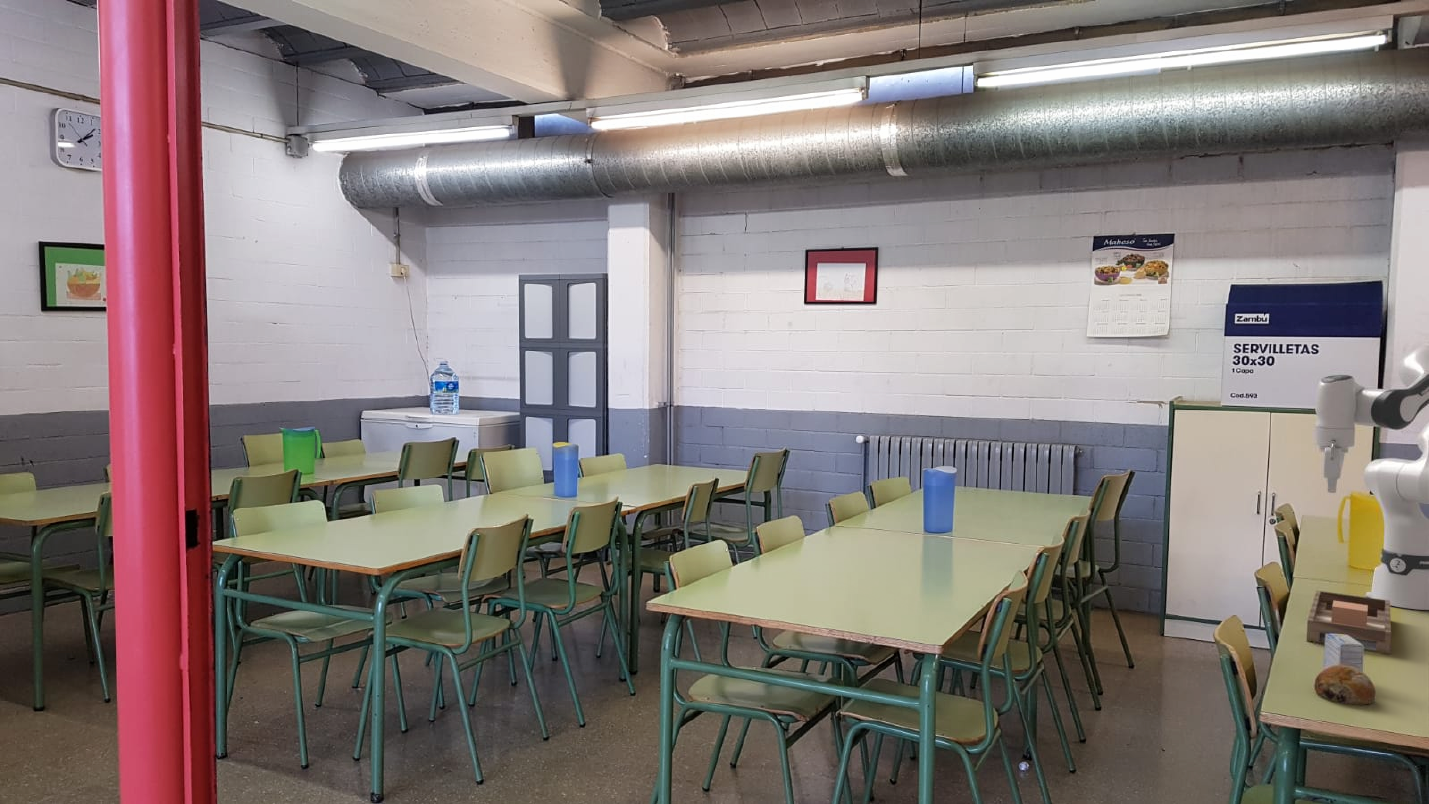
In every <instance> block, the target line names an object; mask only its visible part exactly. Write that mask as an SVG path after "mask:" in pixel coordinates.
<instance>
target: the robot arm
mask: <svg viewBox="0 0 1429 804" xmlns="http://www.w3.org/2000/svg"><path fill="white" fill-rule="evenodd" d="M1397 371H1398V377H1399V380H1400V381H1401V382H1402V384H1403V385H1405V386H1406V388H1401V389H1400V388H1399V389H1398V388H1395V389H1394V388H1393V389H1389V388H1388V389H1386V388H1368V387H1365V386H1363V385H1361V384H1359V383H1357V382H1356V381H1355V379H1354V376H1352V375H1349V374H1337V375H1336V374H1335V375H1329V376H1328V375H1327V376H1325V377H1323V378H1321V379H1320V380H1319V382H1318V386H1317V388H1316V393H1315V394H1316V395H1315V402H1314V403H1315V406H1314V407H1315V408H1314V409H1315V414H1316V420H1315V423H1314V429H1313V432H1314V433H1313V435H1314V436H1313V444H1314V446H1315V445H1316V446H1318V447H1319V452H1322V453H1323V471H1322V473H1323V475H1322V476H1323V478H1324V479H1327V492H1328V493H1329V494H1336V493H1337V483H1338V479H1339V480H1340V478H1341V475H1342V469H1343V465H1344V460H1345V456H1346V455H1345V454H1347V453H1349V448H1351V447H1355V437H1356V434H1355V433H1356V425H1357V426H1367V427H1378V428H1379V427H1380V428H1382V429H1383V428H1384V429H1390V430H1396V431H1399V430H1403V429H1405V428H1407V427H1408V426H1410V424H1412V422H1413V421H1414V420H1415V419H1416V417H1417V415H1418V414H1419V413H1420V412H1422V410H1423V409H1424V408H1426V407H1427V405H1429V342H1427V343H1424V344H1423V345H1420V346H1419V347H1417V348H1416V349H1414V350H1412V351H1410V352H1409V353H1407V354H1406V355H1405V356H1404V357H1403V358H1402V359H1401V360H1400V361H1399V364H1398V370H1397ZM1416 443H1417V447H1418V449H1419V451H1421V453H1422V454H1421V456H1420V457H1419V458H1418V459H1416V460H1412V459H1411V460H1410V459H1404V458H1398V457H1397V458H1395V457H1390V458H1389V457H1388V458H1387V457H1386V458H1378V459H1377V458H1376V459H1374V460H1371V462H1369V463H1368V464H1367V465H1366V467H1365V469H1364V473H1363V482H1364V484H1365V487H1366V488H1367V489H1368V490H1369V491H1370V492H1371V493H1372V494H1373V496H1374V497H1375V499H1376V500H1377V502H1378V504H1379V507H1380V510H1381V513H1382V517H1383V523H1384V524H1383V529H1384V531H1383V533H1384V534H1383V548H1382V549H1381V552H1380V562H1381V563H1380V564H1379V565H1378V566H1376V567H1375V568H1374V573H1373V579H1372V586H1371V591H1366V592H1365V597H1368V598H1375V599H1382V600H1390V607H1391V606H1393V607H1397V608H1402V609H1410V610H1423V611H1425V610H1426V611H1429V518H1428V517H1426V515H1425V514H1424V513H1423V511H1422V510H1421V506H1420V504H1425V505H1429V421H1428V422H1427V423H1426V425H1425V426H1423V428H1422V430H1421V431H1420V432H1419V433H1418V436H1417V438H1416Z"/></svg>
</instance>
